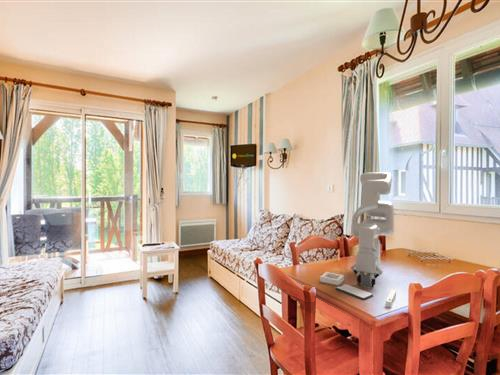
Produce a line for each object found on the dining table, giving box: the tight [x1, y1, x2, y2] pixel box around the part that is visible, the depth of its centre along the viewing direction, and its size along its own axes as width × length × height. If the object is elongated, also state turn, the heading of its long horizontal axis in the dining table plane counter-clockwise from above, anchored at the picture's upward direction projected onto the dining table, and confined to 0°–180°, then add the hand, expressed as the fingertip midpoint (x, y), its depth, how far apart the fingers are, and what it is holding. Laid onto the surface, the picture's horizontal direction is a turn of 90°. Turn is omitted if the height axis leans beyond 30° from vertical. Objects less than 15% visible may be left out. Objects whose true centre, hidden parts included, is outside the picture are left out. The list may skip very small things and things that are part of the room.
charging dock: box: [385, 289, 397, 308], centre depth 125 cm, size 16×2×3 cm, turn 145°
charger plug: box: [360, 272, 372, 289], centre depth 143 cm, size 4×4×7 cm
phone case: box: [335, 283, 374, 301], centre depth 134 cm, size 9×2×16 cm
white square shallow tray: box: [319, 271, 345, 287], centre depth 149 cm, size 10×10×3 cm
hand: (366, 284), depth 143 cm, fingers open, 5 cm apart
